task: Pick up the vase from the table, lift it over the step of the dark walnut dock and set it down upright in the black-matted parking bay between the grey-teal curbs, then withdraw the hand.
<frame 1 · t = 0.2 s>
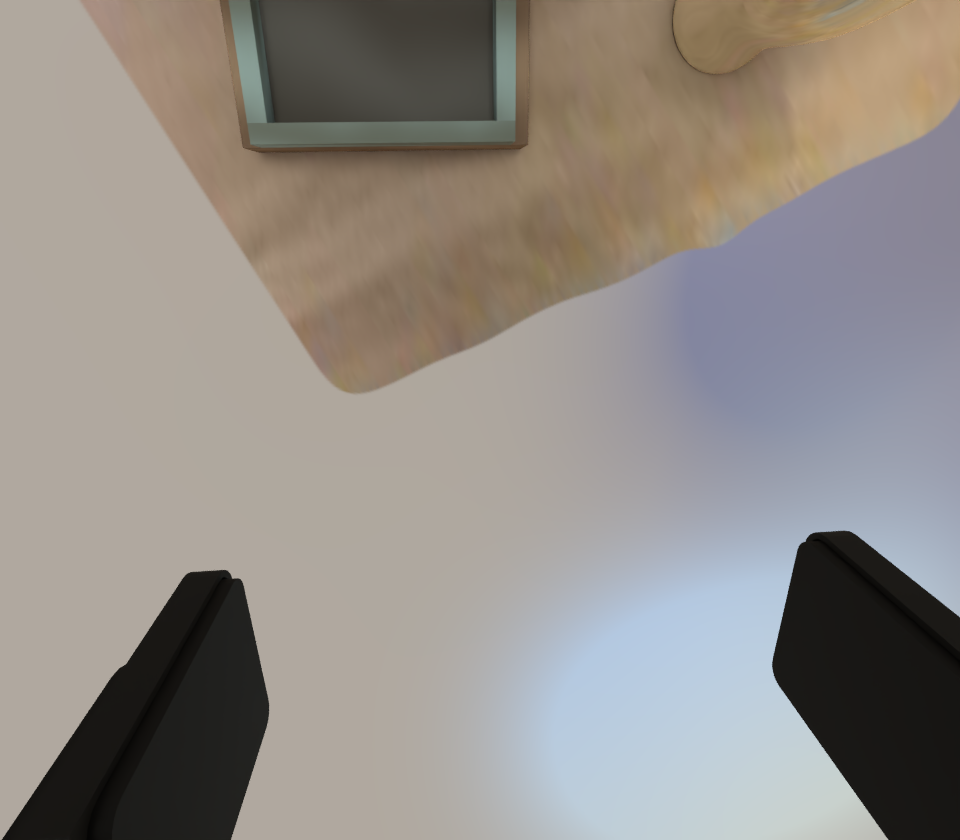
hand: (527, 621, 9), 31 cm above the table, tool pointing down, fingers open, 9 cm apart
beer glass: (720, 16, 33), on the table
dock: (382, 14, 32), on the table
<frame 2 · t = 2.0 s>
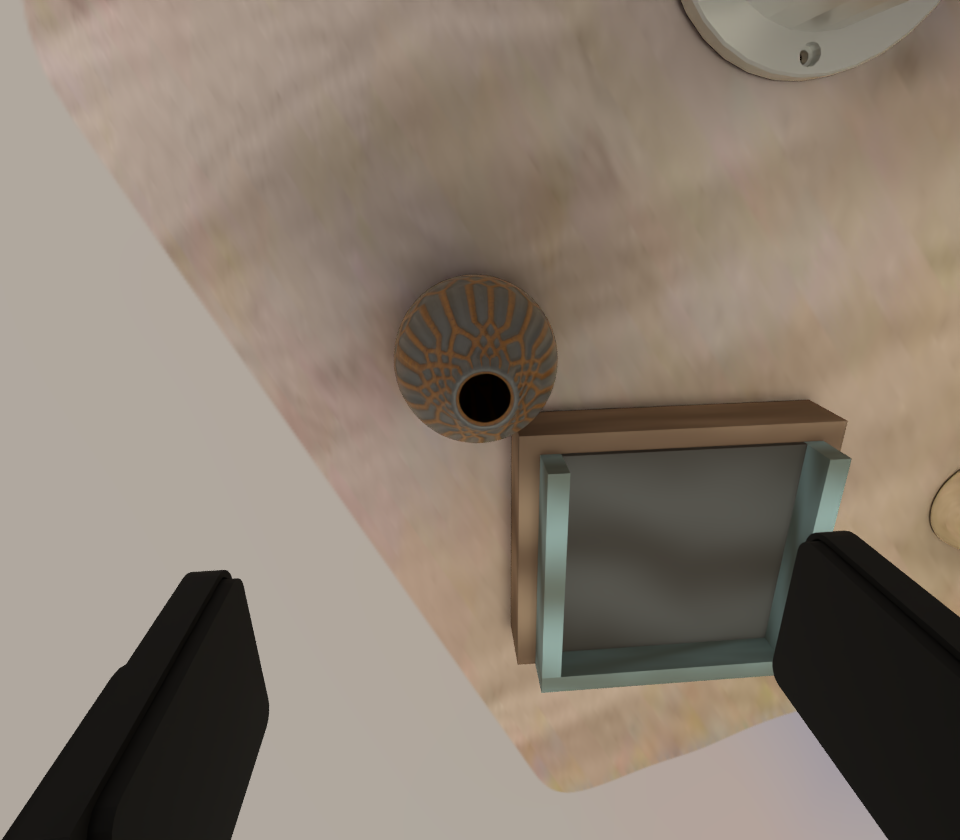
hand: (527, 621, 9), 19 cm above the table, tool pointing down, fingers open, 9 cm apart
dock: (650, 520, 32), on the table
vase: (470, 337, 27), on the table
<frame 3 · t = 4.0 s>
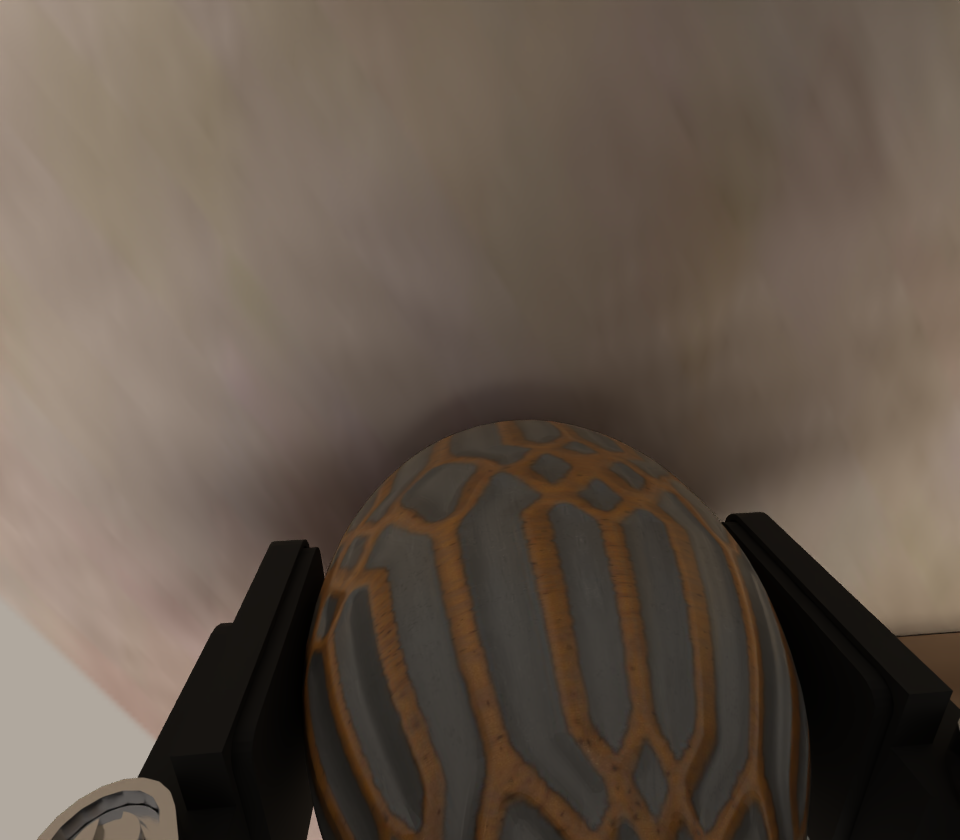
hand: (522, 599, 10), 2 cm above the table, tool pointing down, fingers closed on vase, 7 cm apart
dock: (838, 819, 17), on the table
vase: (506, 521, 12), on the table, touching gripper
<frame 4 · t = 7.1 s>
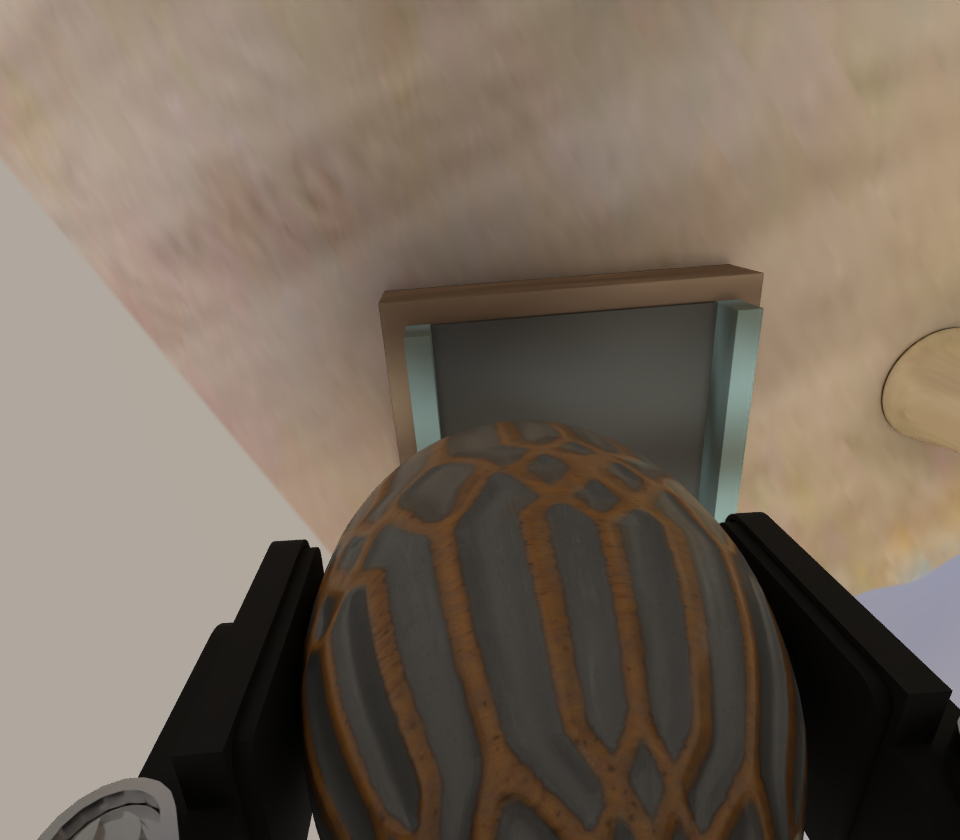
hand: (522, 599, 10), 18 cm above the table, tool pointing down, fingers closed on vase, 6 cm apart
beer glass: (934, 382, 29), on the table
dock: (560, 417, 28), on the table
vase: (505, 521, 12), point 15 cm above the table, touching gripper
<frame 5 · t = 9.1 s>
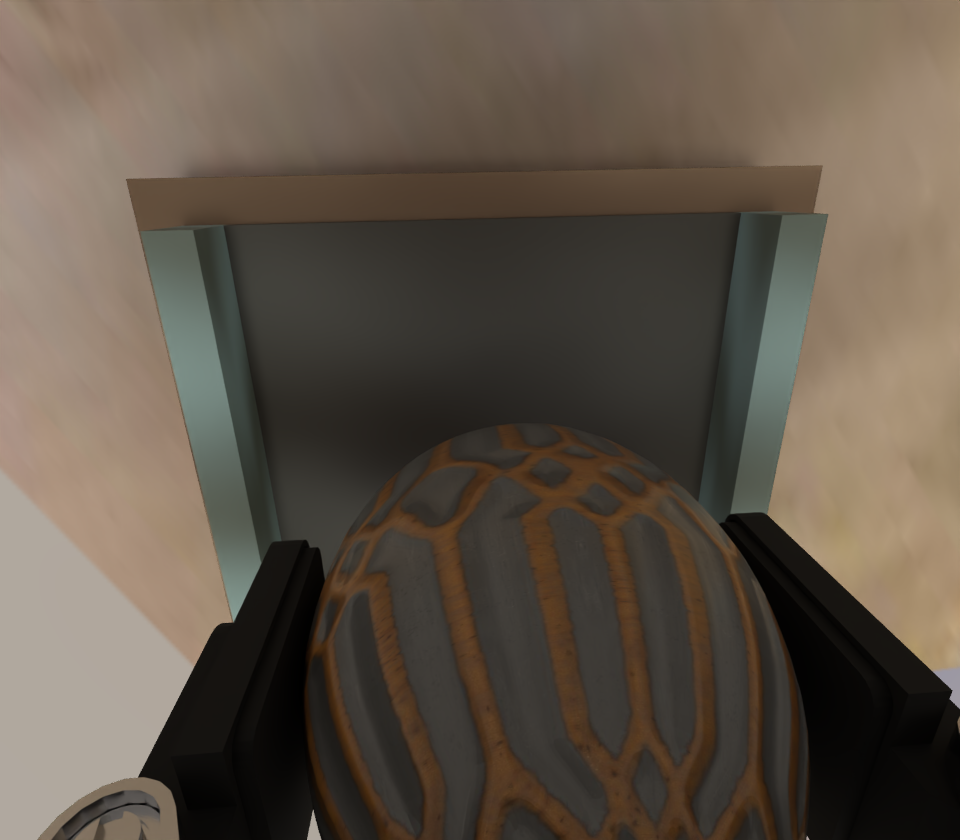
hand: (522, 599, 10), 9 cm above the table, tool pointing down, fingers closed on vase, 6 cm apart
dock: (482, 409, 18), on the table
vase: (506, 523, 12), point 6 cm above the table, touching gripper
when the fingers open (7 cm above the table, at t = 10.5 s): vase drops 1 cm, resting on dock.
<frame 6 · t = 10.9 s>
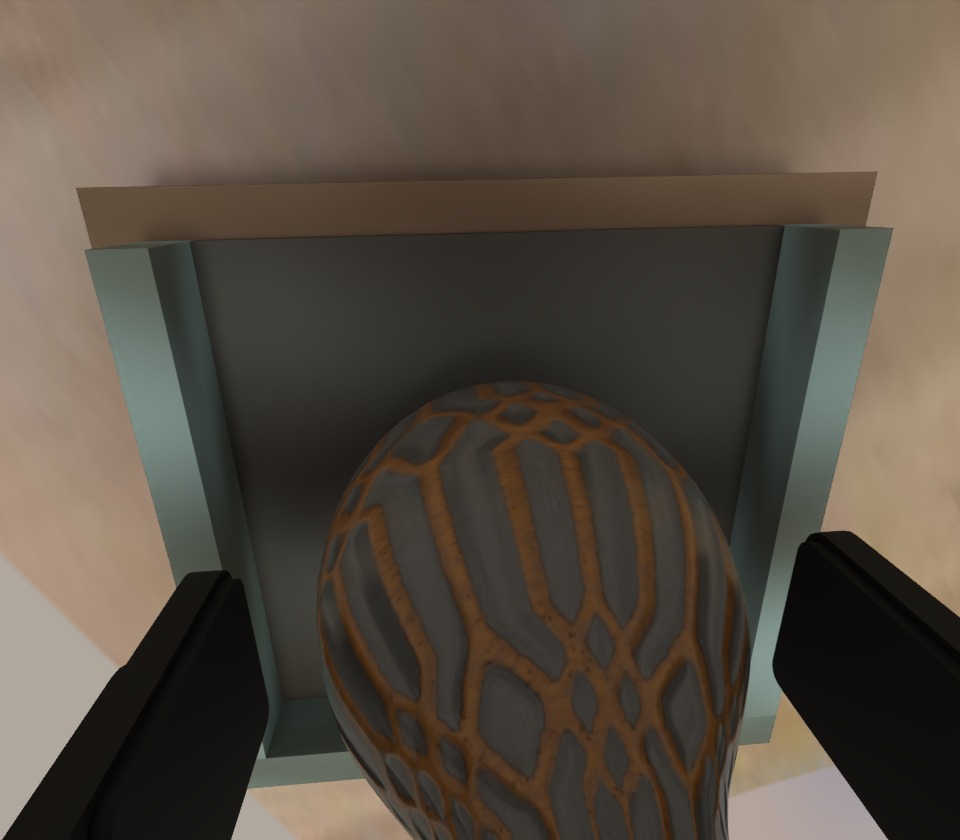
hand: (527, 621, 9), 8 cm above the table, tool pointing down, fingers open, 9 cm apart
dock: (487, 440, 16), on the table
vase: (493, 481, 13), point 3 cm above the table, touching dock
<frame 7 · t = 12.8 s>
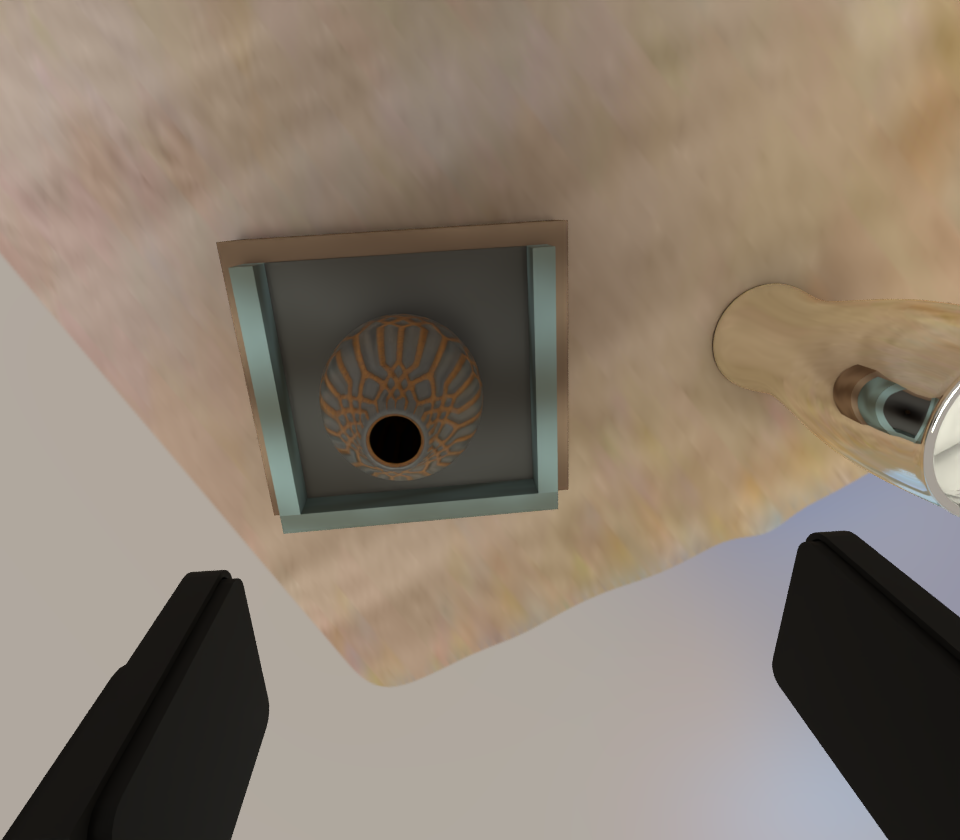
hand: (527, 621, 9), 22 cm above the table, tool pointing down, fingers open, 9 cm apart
beer glass: (761, 336, 32), on the table
dock: (412, 363, 31), on the table
vase: (407, 373, 28), point 3 cm above the table, touching dock
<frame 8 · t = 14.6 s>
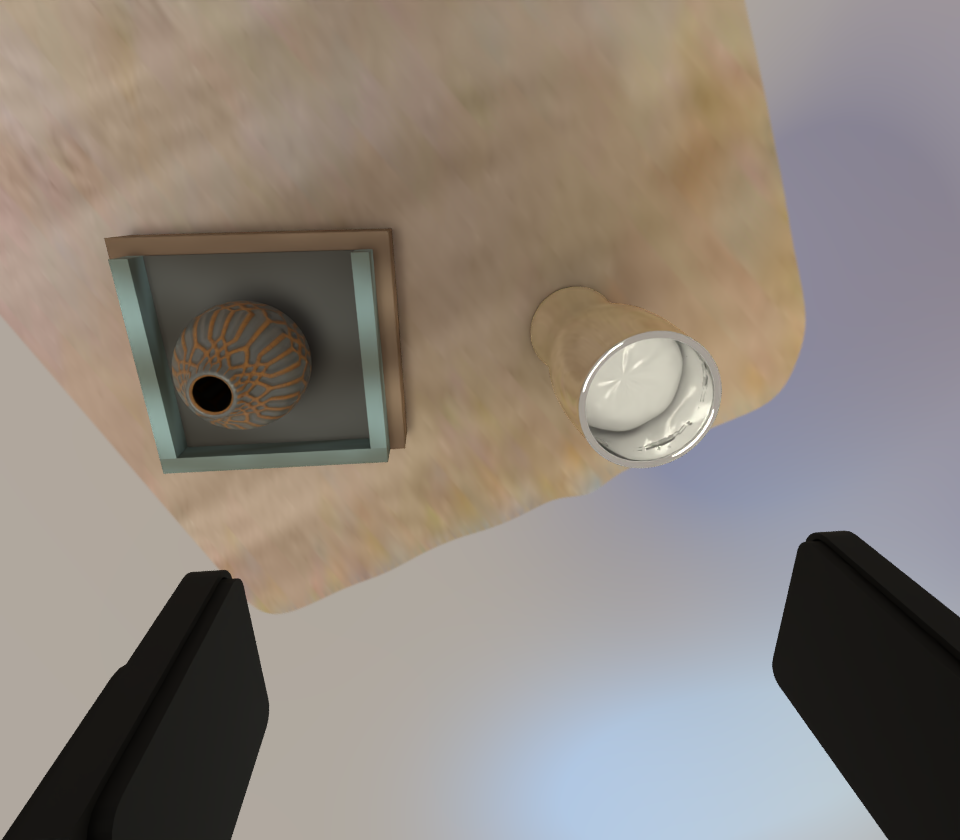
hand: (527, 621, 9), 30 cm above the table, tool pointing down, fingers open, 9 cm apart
beer glass: (572, 329, 39), on the table
dock: (280, 341, 37), on the table
vase: (264, 348, 34), point 3 cm above the table, touching dock
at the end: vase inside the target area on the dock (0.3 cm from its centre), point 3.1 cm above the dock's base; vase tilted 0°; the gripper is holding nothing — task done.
